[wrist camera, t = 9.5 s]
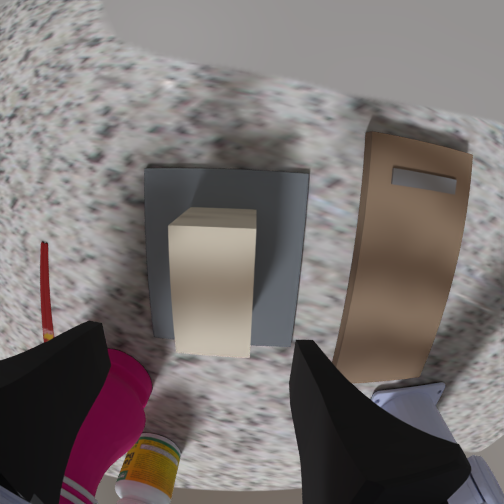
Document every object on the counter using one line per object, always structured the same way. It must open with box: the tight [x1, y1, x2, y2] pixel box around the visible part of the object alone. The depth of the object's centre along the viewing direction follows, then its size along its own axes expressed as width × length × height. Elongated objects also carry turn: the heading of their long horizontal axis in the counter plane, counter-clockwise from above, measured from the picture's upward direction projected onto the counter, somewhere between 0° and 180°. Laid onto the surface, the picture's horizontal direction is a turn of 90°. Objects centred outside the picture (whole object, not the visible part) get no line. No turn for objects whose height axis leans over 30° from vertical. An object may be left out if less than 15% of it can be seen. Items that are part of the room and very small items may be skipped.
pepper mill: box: [59, 349, 152, 504], centre depth 14 cm, size 7×7×20 cm
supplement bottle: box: [115, 433, 181, 504], centre depth 22 cm, size 5×5×10 cm
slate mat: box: [144, 168, 309, 347], centre depth 20 cm, size 12×10×1 cm
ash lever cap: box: [168, 207, 256, 358], centre depth 17 cm, size 7×4×5 cm, turn 177°
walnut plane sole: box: [332, 131, 473, 383], centre depth 19 cm, size 18×8×1 cm, turn 177°
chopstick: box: [40, 242, 54, 342], centre depth 23 cm, size 2×24×1 cm, turn 166°
